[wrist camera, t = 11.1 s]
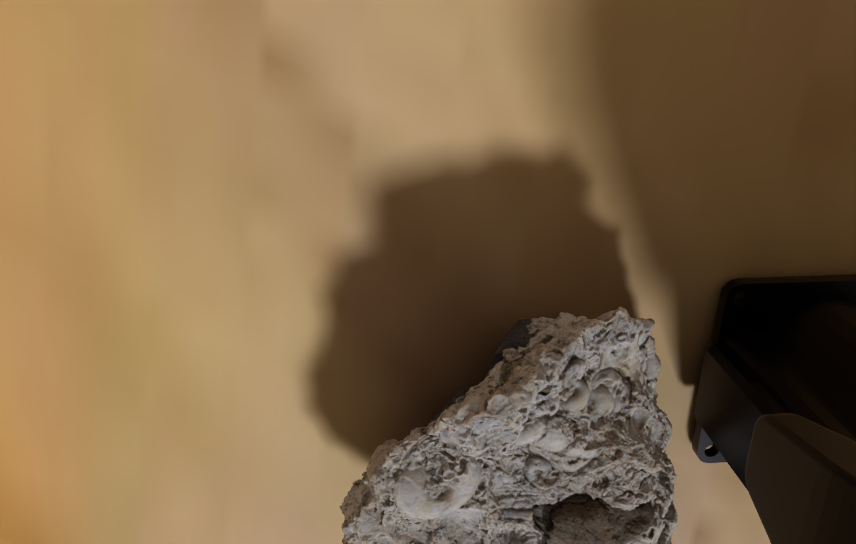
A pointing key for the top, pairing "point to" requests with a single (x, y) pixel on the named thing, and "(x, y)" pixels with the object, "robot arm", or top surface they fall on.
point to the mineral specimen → (533, 448)
